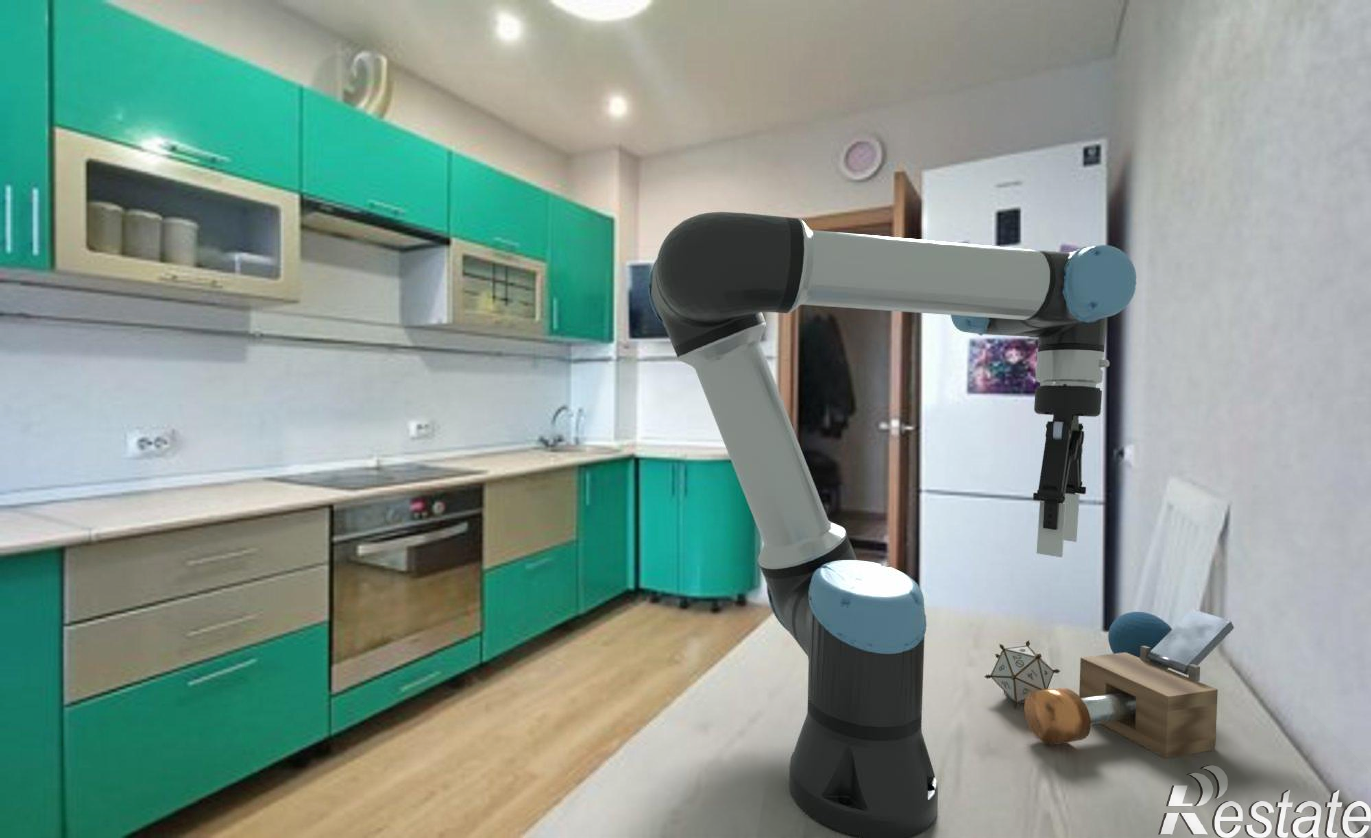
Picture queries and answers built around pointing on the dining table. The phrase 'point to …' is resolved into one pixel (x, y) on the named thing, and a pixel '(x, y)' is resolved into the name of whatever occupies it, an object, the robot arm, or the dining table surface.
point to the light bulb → (1136, 633)
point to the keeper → (1190, 641)
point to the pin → (1073, 713)
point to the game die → (1021, 672)
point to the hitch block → (1155, 702)
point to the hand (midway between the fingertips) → (1057, 547)
